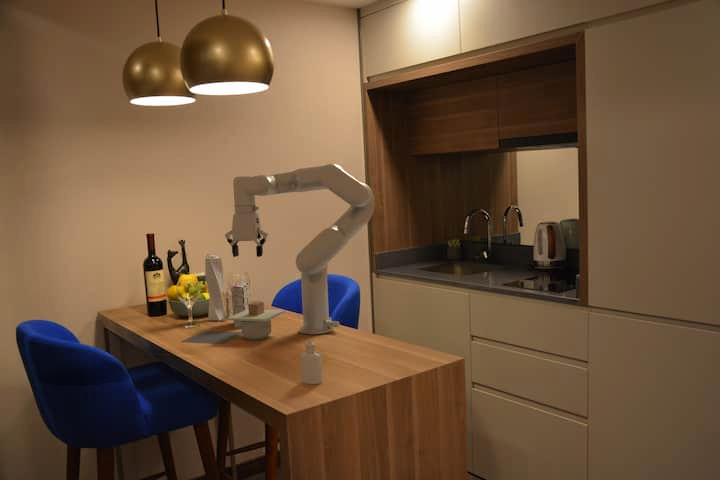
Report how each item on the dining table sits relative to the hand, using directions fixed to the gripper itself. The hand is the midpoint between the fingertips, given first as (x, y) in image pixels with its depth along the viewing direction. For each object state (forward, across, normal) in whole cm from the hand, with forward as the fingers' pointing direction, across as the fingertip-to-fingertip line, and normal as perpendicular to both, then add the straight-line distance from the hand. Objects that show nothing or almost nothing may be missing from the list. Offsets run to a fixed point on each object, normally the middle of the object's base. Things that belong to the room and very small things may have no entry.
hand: (247, 256), depth 234 cm
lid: (+20, -7, +9) cm, 23 cm away
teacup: (+29, -7, +8) cm, 31 cm away
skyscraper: (+28, +24, -17) cm, 41 cm away
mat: (+28, +9, +12) cm, 32 cm away
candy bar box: (+29, +8, -8) cm, 31 cm away
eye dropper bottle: (+28, -45, +52) cm, 74 cm away
